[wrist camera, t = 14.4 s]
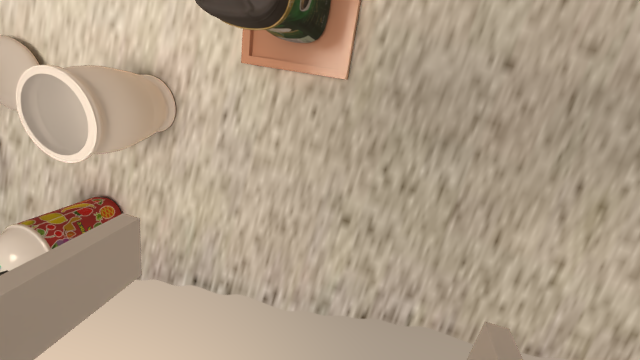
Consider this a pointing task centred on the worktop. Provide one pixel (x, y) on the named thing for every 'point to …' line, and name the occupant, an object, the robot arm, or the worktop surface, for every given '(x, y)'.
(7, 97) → the flower in vase
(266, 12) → the coffee jar
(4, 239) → the smoothie
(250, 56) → the tray
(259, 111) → the worktop surface
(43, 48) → the worktop surface
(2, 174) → the worktop surface
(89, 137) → the jar
